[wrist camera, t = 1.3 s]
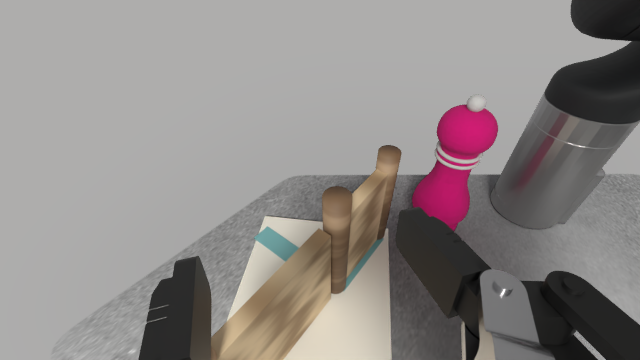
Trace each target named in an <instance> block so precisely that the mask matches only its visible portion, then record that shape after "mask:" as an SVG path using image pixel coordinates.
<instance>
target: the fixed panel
mask: <svg viewBox="0 0 640 360" xmlns="http://www.w3.org/2000/svg"><path fill="white" fill-rule="evenodd" d="M400 158H401V150H400V149H398V148H397V147H395V146H391V145H386V146H382V147H381V148H379V150H378V157H377V164H376V170H375V171H374V172H373V173H372V174H371V175H370V176H369V177H368V178H367V179H366V180H365V181H364V183H363V184H362V185H361V186H360V187H359V188H358V189H357V190H356V191H355V192H354V193H353V194H351V192H350V191H349V190H348V189H346V188H344V187H339V186H335V187H330V188H328V189H326V190H325V191H324V193H323V195H322V211H323V231H324V232H326V233H327V234H329V235H331V293H332V294H339V293H341V292H343V291H344V289H345V287H346V279H347V277H348V276H349V275H350V273H351V272H352V271H353V270H354V268H355V267H356V266H357V264H358V263H359V262H360V261H361V259H362V258H363V257H364V255H365V254H366V253H367V252H368V250H369V249H370V248H371V246H372V245H373V244H374V243H375V241H376V240H380V239H382V238H383V237H384V235H385V230H386V225H387V220H388V215H389V211H390V206H391V201H392V196H393V191H394V187H395V182H396V177H397V172H398V167H399V162H400Z"/></svg>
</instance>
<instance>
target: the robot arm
mask: <svg viewBox="0 0 640 360" xmlns="http://www.w3.org/2000/svg"><path fill="white" fill-rule="evenodd" d="M571 18H572V22H573V24H574V26H575V27H576V28H577V29H578V30H579V31H580V32H581V33H584V34H586V35H589V36H592V37H595V38H600V39H611V40H625V41H632V42H631V43H629V44H628V45H627V46H625V47H623V48H622V49H619V50H617V51H616V52H613V53H611V54H608V55H606V56H603V57H600V58H597V59H592V60H588V61H583V62H578V63H574V64H571V65H568V66H565V67H563V68H561V69H560V70H558V71H557V72H556V73H555V74H554V76H553V77H552V79H551V81H550V83H549V84H548V86H547V88H546V90H545V92H544V94H543V96H542V98H541V99H540V101H539V103H538V105H537V107H536V109H535V111H534V113H533V115H532V117H531V119H530V120H529V122H528V124H527V126H526V128H525V130H524V132H523V134H522V136H521V137H520V139H519V141H518V143H517V145H516V147H515V149H514V151H513V153H512V154H511V157H510V158H509V160H508V162H507V164H506V166H505V168H504V170H503V172H502V173H501V175H500V177H499V179H498V181H497V183H496V184H495V187H494V189H493V191H492V193H491V202H492V204H493V206H494V208H495V209H496V210H497V211H498V212H499V213H500V214H501V215H502V216H503V217H505V218H506V219H508V220H509V221H511V222H513V223H515V224H518V225H520V226H523V227H527V228H531V229H546V228H550V227H552V226H554V225H555V224H557V223H561V224H565V222H566V221H567V220H568V219H569V218H570V217H571V215H572V214H573V213H574V212H575V211H576V209H577V208H578V207H579V206H580V205H581V204H582V202H583V201H584V200H585V199H586V198H587V197H588V195H589V194H590V193H591V192H592V191H593V190H594V188H595V187H596V186H597V185H598V184H599V183H600V181H601V180H602V179H603V178H604V177H605V172H604V170H603V169H602V167H603V166H604V165H605V164H606V162H607V161H608V160H609V159H610V158H611V156H612V155H613V154H614V153H615V152H616V150H617V149H618V148H619V147H620V146H621V144H622V143H623V142H624V140H625V139H626V138H627V137H628V136H629V134H630V133H631V132H632V131H633V129H634V128H635V127H636V126H637V125H638V123H639V122H640V0H572V3H571ZM396 243H397V247H398V249H399V251H400V253H401V254H402V255H403V257H404V258H405V260H406V261H407V262H408V264H409V265H410V267H411V268H412V269H413V271H414V272H415V273H416V275H417V276H418V278H419V279H420V280H421V282H422V283H423V285H424V286H425V287H426V289H427V290H428V292H429V293H430V294H431V296H432V297H433V299H434V300H435V301H436V303H437V304H438V306H439V307H440V308H441V310H442V311H443V313H444V314H445V315H446V317H447V318H451V317H454V316H457V315H459V316H460V318H461V319H462V320H463V321H462V324H461V337H462V360H598V359H597V358H596V357H595V356H594V355H593V354H592V353H591V352H590V351H589V350H588V349H587V348H586V347H585V346H584V345H583V344H582V343H581V342H580V341H579V340H578V339H577V338H576V337H575V336H574V335H573V334H574V333H575V332H576V330H577V331H578V332H579V333H580V334H581V335H582V336H583V337H584V338H585V339H586V340H587V341H588V342H589V343H590V344H591V345H592V346H593V347H594V348H595V349H596V350H597V351H598V352H599V353H600V354H601V355H602V356H603V357H604V358H605V359H606V360H640V325H639V324H638V323H637V322H635V321H634V320H633V319H632V318H631V317H629V316H628V315H627V314H626V313H625V312H623V311H622V310H621V309H620V308H618V307H617V306H616V305H615V304H614V303H612V302H611V301H610V300H609V299H608V298H606V297H605V296H604V295H603V294H602V293H600V292H599V291H598V290H597V289H595V288H594V287H593V286H592V285H591V284H589V283H588V282H587V281H585V280H584V279H582V278H581V277H579V276H577V275H574V274H572V273H569V272H564V271H553V272H551V273H549V274H548V276H547V278H546V279H545V281H520V280H518V279H517V278H516V277H514V276H513V275H511V274H509V273H507V272H505V271H501V270H496V269H491V268H490V267H489V266H488V265H487V264H486V263H485V262H484V261H483V260H482V259H481V258H480V257H479V256H478V255H477V254H476V253H475V252H474V251H473V250H472V249H471V248H470V247H469V246H468V245H467V244H466V243H465V242H464V241H462V240H461V238H460V237H459V236H458V235H457V234H456V233H454V231H453V230H452V229H451V228H450V227H449V226H448V225H447V224H446V223H445V222H443V221H441V220H439V219H438V218H436V217H434V216H431V217H429V216H428V215H427V214H426V212H425V211H424V210H423V209H422V208H420V207H415V208H410V209H406V210H402V211H401V212H400V214H399V220H398V226H397V233H396ZM139 360H211V291H210V286H209V282H208V279H207V277H206V274H205V271H204V268H203V265H202V263H201V260H200V258H199V256H196V257H191V258H187V259H183V260H178V261H176V262H175V265H174V272H173V277H172V278H168V279H163V280H161V281H160V283H159V284H158V286H157V287H156V289H155V290H154V292H153V294H152V297H151V302H150V307H149V312H148V316H147V324H146V326H145V331H144V336H143V340H142V345H141V350H140V355H139Z"/></svg>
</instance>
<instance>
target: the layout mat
mask: <svg viewBox="0 0 640 360" xmlns="http://www.w3.org/2000/svg"><path fill="white" fill-rule="evenodd" d="M318 228H319V229H321V230H323V222H319V221H309V220H299V219H289V218H279V217H269V216H265V218H264V221H263V224H262V226H261V229H260V232H259V234H258V235H257V236H256V237H255V238H254V239H256V243H255V245H254V248H253V251H252V253H251V256H250V259H249V262H248V264H247V267H246V270H245V273H244V275H243V278H242V281H241V283H240V286H239V289H238V292H237V294H236V297H235V300H234V302H233V305H232V308H231V311H230V313H229V316H228V319H227V321H228V320H229V319H230V318H231V317H232V316H233V315H234V314H235V313H236V312H237V311H238V310H239V309H240V308H241V307H242V306H243V305H244V304H245V303H246V302H247V301H248V300H249V299H250V298H251V297H252V296H253V295H254V294H255V293H256V292H257V290H258V289H259V288H260V287H261V286H262V285H263V284H264V283H265V282H266V281H267V280H268V279H269V278H270V277H271V276H272V275H273V274H274V273H275V272H276V271H277V270H278V269H279V268H280V267H281V266H282V265H283V264H284V263H285V262H286V261H287V260H288V259H289V258H290V257H291V256H292V255H293V254H294V253H295V252H296V251H297V250H298V249H299V248H300V247H301V246H302V245H303V244H304V243H305V242H306V241H307V240H308V239H309V238H310V236H311V235H312V234H313V233H314V232H315V231H316V230H317V229H318ZM283 360H392V358H391V320H390V282H389V245H388V228H386V230H385V235H384V237H383V238H382V239H380V240H376V241H375V243H374V244H373V245H372V246H371V248H370V249H369V250H368V252H367V253H366V254H365V255H364V257H363V258H362V259H361V261H360V262H359V263H358V264H357V266H356V267H355V268H354V270H353V271H352V272H351V273H350V275H349V276H348V277H347V279H346V287H345V289H344V291H343V292H341V293H339V294H332V293H331V299H330V300H329V302H328V303H327V304H326V305H325V307H324V308H323V309H322V311H321V312H320V313H319V314H318V316H317V317H316V318H315V320H314V321H313V322H312V323H311V325H310V326H309V327H308V329H307V330H306V331H305V332H304V334H303V335H302V336H301V338H300V339H299V340H298V341H297V343H296V344H295V345H294V347H293V348H292V349H291V350H290V352H289V353H288V354H287V356H286V357H285V358H284V359H283Z"/></svg>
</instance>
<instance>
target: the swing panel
mask: <svg viewBox="0 0 640 360" xmlns="http://www.w3.org/2000/svg"><path fill="white" fill-rule="evenodd" d="M330 299H331V235H329V234H327V233H326V232H324V231H323V230H321V229H319V228H318V229H317V230H316V231H315V232H314V233H313V234H312V235H311V236H310V238H309V239H308V240H307V241H306V242H305V243H304V244H303V245H302V246H301V247H300V248H299V249H298V250H297V251H296V252H295V253H294V254H293V255H292V256H291V257H290V258H289V259H288V260H287V261H286V262H285V263H284V264H283V265H282V266H281V267H280V268H279V269H278V270H277V271H276V272H275V273H274V274H273V275H272V276H271V277H270V278H269V279H268V280H267V281H266V282H265V283H264V284H263V285H262V286H261V287H260V288H259V289H258V290H257V292H256V293H255V294H254V295H253V296H252V297H251V298H250V299H249V300H248V301H247V302H246V303H245V304H244V305H243V306H242V307H241V308H240V309H239V310H238V311H237V312H236V313H235V314H234V315H233V316H232V317H231V318H230V319H229V320H228V321H227V322H226V323H225V324H224V325H223V326H222V327H221V328H220V329H219V330H218V331H217V332H216V333H215V334H214V335H213V336H212V337H211V360H283V359H284V358H285V357H286V356H287V354H288V353H289V352H290V350H291V349H292V348H293V347H294V345H295V344H296V343H297V341H298V340H299V339H300V338H301V336H302V335H303V334H304V332H305V331H306V330H307V329H308V327H309V326H310V325H311V323H312V322H313V321H314V320H315V318H316V317H317V316H318V314H319V313H320V312H321V311H322V309H323V308H324V307H325V305H326V304H327V303H328V302H329V300H330Z"/></svg>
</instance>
